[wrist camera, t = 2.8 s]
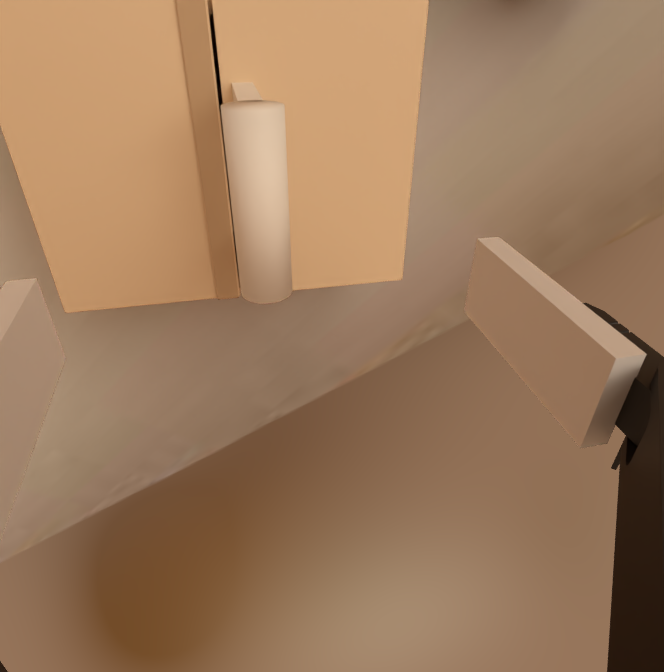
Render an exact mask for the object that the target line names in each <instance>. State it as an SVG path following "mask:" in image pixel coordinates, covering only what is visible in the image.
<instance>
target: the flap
mask: <svg viewBox="0 0 664 672" xmlns="http://www.w3.org/2000/svg"><path fill="white" fill-rule="evenodd" d="M428 4H429V0H212V9H213V18H214V28H215V37H216V46H217V56H218V65H219V74H220V83H221V93H222V102H223V104H222V105H221V106H220V107H221V116H222V125H223V134H224V143H225V152H226V162H227V171H228V180H229V189H230V198H231V207H232V216H233V225H234V234H235V243H236V252H237V261H238V270H239V279H240V289H241V295H242V297H243V298H244V299H246V300H247V301H250V302H253V303H258V304H270V303H276V302H280V301H282V300H285V299H286V298H288V297H289V296H290V295H291V294H292V291H293V290H303V289H313V288H323V287H333V286H343V285H354V284H364V283H374V282H384V281H394V280H402V275H403V264H404V254H405V243H406V233H407V223H408V212H409V202H410V191H411V181H412V170H413V160H414V150H415V139H416V129H417V118H418V108H419V98H420V87H421V77H422V66H423V56H424V46H425V35H426V25H427V14H428Z"/></svg>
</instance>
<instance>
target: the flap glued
mask: <svg viewBox="0 0 664 672" xmlns="http://www.w3.org/2000/svg"><path fill="white" fill-rule="evenodd" d="M0 126H1V129H2V132H3V135H4V138H5V141H6V144H7V146H8V149H9V152H10V155H11V158H12V161H13V164H14V167H15V170H16V172H17V175H18V178H19V181H20V184H21V187H22V190H23V193H24V196H25V198H26V201H27V204H28V207H29V210H30V213H31V216H32V219H33V222H34V224H35V227H36V230H37V233H38V236H39V239H40V242H41V245H42V248H43V250H44V253H45V256H46V259H47V262H48V265H49V268H50V271H51V274H52V276H53V279H54V282H55V285H56V288H57V291H58V294H59V297H60V300H61V302H62V305H63V308H64V311H65V313H70V312H81V311H91V310H101V309H111V308H121V307H131V306H141V305H151V304H161V303H172V302H182V301H192V300H202V299H212V298H218V300H219V299H229V298H239V296H240V290H239V281H238V272H237V263H236V254H235V245H234V236H233V227H232V218H231V209H230V200H229V191H228V182H227V173H226V164H225V156H224V147H223V138H222V129H221V120H220V111H219V102H218V93H217V84H216V75H215V66H214V57H213V48H212V39H211V30H210V21H209V12H208V3H207V0H0Z"/></svg>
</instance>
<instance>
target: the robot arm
mask: <svg viewBox="0 0 664 672" xmlns="http://www.w3.org/2000/svg"><path fill="white" fill-rule="evenodd" d="M464 312H465V313H466V315H467V316H468V317H469V318H470V319H471V320H472V322H473V323H474V324H475V325H476V326H477V327H478V329H479V330H480V331H481V332H482V333H483V335H484V336H485V337H486V338H487V339H488V340H489V342H490V343H491V344H492V345H493V346H494V347H495V349H496V350H497V351H498V352H499V353H500V355H501V356H502V357H503V358H504V359H505V360H506V361H507V363H508V364H509V365H510V366H511V367H512V369H513V370H514V371H515V372H516V373H517V375H518V376H519V377H520V378H521V379H522V380H523V382H524V383H525V384H526V385H527V386H528V387H529V389H530V390H531V391H532V392H533V393H534V394H535V396H536V397H537V398H538V399H539V400H540V402H541V403H542V404H543V405H544V406H545V408H546V409H547V410H548V411H549V412H550V413H551V415H552V416H553V417H554V418H555V419H556V420H557V422H558V423H559V424H560V425H561V426H562V428H563V429H564V430H565V431H566V432H567V433H568V434H569V436H570V437H571V438H572V439H573V440H574V442H575V443H576V444H577V445H578V446H579V447H580V448H584V447H590V446H596V445H601V444H607V443H608V441H609V438H610V436H611V434H612V432H613V429H614V427H615V425H616V426H617V427H618V428H619V429H620V430H621V431H622V432H623V433H624V434H625V435H626V437H625V439H624V441H623V443H622V445H621V448H620V450H619V452H618V454H617V456H616V459H615V460H614V463H613V465H612V467H611V468H612V469H615V470H616V469H617V467H618V465H619V464H620V471H619V487H618V504H617V521H616V536H615V552H614V569H613V586H612V602H611V618H610V635H609V650H608V651H609V652H608V667H607V672H664V357H663V356H661V355H660V354H659V353H658V352H656V351H655V350H654V349H653V348H651V347H650V346H649V345H647V344H646V343H645V342H643V341H642V340H641V339H640V338H638V337H637V336H635V335H634V334H633V333H632V332H630V333H629V330H628V329H627V328H625V327H624V326H623V325H621V324H618V322H617V321H616V320H615V319H614V318H612V317H611V316H610V315H608V314H607V313H606V312H605V311H603V310H600V309H598V308H596V307H594V306H592V305H589V304H587V303H581V302H580V301H579V300H578V299H577V298H575V297H574V296H573V295H571V294H570V293H569V292H568V291H567V290H565V289H564V288H563V287H561V286H560V285H559V284H557V283H556V282H555V281H554V280H553V279H551V278H550V277H549V276H548V275H546V274H545V273H544V272H543V271H541V270H540V269H539V268H538V267H536V266H535V265H534V264H533V263H531V262H530V261H529V260H527V259H526V258H525V257H524V256H522V255H521V254H520V253H519V252H517V251H516V250H515V249H514V248H512V247H511V246H510V245H509V244H507V243H506V242H505V241H504V240H502V239H501V238H500V237H491V238H480V239H477V242H476V248H475V254H474V259H473V265H472V271H471V276H470V282H469V287H468V293H467V299H466V304H465V310H464ZM65 360H66V357H65V355H64V352H63V349H62V346H61V344H60V341H59V338H58V335H57V333H56V330H55V327H54V324H53V322H52V319H51V316H50V313H49V311H48V308H47V305H46V302H45V300H44V297H43V294H42V291H41V289H40V286H39V283H38V280H37V278H33V279H22V280H11V281H6V282H5V284H4V285H3V287H2V288H1V290H0V540H1V538H2V535H3V532H4V529H5V527H6V524H7V521H8V518H9V515H10V513H11V510H12V507H13V504H14V502H15V499H16V496H17V493H18V491H19V488H20V485H21V482H22V479H23V477H24V474H25V471H26V468H27V466H28V463H29V460H30V457H31V454H32V452H33V449H34V446H35V443H36V441H37V438H38V435H39V432H40V430H41V427H42V424H43V421H44V418H45V416H46V413H47V410H48V407H49V405H50V402H51V399H52V396H53V394H54V391H55V388H56V385H57V382H58V380H59V377H60V374H61V371H62V369H63V366H64V363H65ZM0 672H7V670H6V669H5V667H4V666H3V664H2V663H1V661H0Z"/></svg>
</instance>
